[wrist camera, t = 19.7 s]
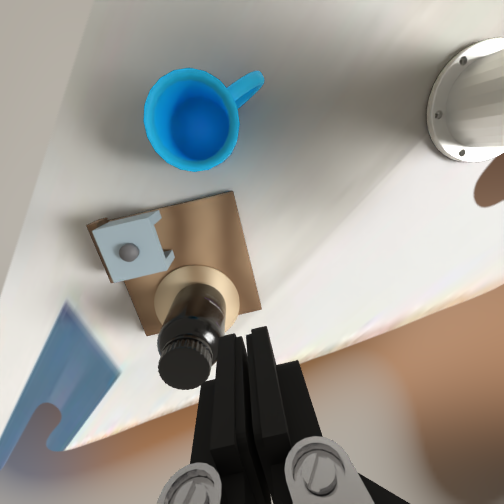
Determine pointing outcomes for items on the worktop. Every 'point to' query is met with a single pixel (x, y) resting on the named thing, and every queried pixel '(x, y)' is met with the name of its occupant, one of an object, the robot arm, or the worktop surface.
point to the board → (195, 260)
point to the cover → (132, 247)
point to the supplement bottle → (191, 336)
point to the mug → (196, 117)
